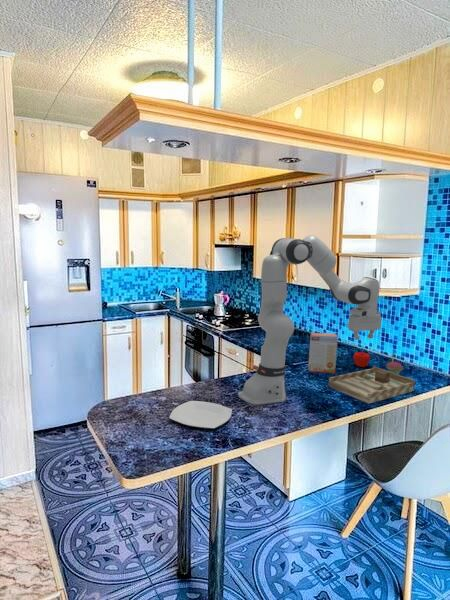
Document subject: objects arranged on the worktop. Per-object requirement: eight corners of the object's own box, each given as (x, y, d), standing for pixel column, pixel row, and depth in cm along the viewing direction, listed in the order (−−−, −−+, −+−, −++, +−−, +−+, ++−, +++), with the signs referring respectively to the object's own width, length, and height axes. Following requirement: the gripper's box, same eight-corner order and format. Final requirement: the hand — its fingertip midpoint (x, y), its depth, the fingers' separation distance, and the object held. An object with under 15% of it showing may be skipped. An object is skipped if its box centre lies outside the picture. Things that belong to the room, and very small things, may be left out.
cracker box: (333, 370, 233) (336, 333, 229) (335, 374, 227) (338, 336, 223) (307, 368, 234) (310, 331, 231) (308, 372, 228) (311, 334, 225)
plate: (188, 402, 181) (188, 397, 181) (238, 412, 173) (238, 408, 173) (160, 423, 160) (161, 418, 160) (217, 436, 152) (217, 431, 151)
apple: (351, 367, 240) (352, 353, 239) (354, 363, 248) (355, 350, 247) (367, 370, 236) (369, 356, 235) (370, 365, 244) (371, 352, 243)
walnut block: (383, 383, 207) (384, 373, 207) (374, 380, 212) (375, 370, 211) (389, 382, 210) (390, 372, 209) (380, 379, 214) (382, 369, 213)
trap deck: (368, 403, 188) (369, 392, 187) (328, 386, 207) (329, 375, 207) (413, 391, 206) (415, 380, 205) (372, 376, 226) (373, 366, 225)
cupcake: (385, 375, 227) (387, 354, 226) (385, 371, 235) (387, 350, 234) (402, 378, 225) (405, 356, 223) (401, 373, 233) (403, 352, 231)
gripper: (375, 309, 210) (371, 336, 213) (347, 310, 199) (344, 338, 201) (386, 311, 205) (382, 339, 207) (358, 312, 194) (354, 342, 196)
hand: (363, 339), depth 204 cm, fingers open, 8 cm apart
